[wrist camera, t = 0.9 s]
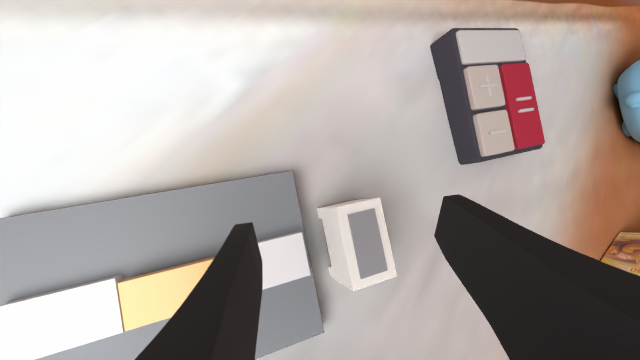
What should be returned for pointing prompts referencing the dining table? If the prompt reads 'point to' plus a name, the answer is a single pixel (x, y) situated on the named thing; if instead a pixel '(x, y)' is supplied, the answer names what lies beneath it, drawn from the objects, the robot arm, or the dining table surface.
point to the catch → (158, 293)
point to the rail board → (146, 266)
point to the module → (358, 243)
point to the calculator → (487, 93)
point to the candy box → (624, 252)
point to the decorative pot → (630, 100)
